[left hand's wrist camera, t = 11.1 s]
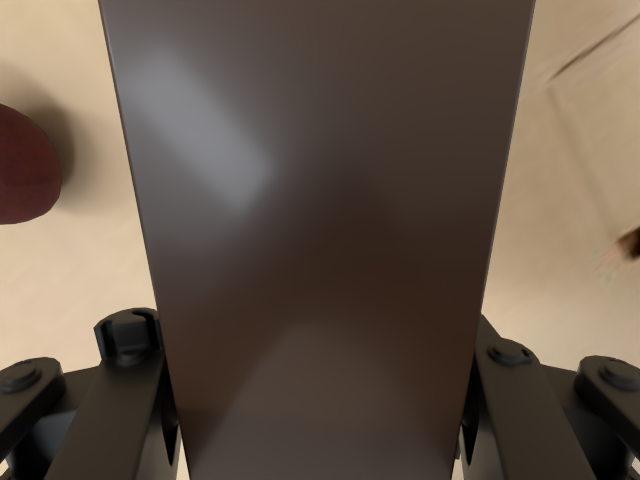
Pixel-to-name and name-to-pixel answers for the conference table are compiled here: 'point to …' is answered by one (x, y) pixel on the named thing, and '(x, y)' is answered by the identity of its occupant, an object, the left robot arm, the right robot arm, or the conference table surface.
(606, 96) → the conference table surface
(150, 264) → the walnut beam
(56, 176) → the dark red ball
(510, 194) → the conference table surface
